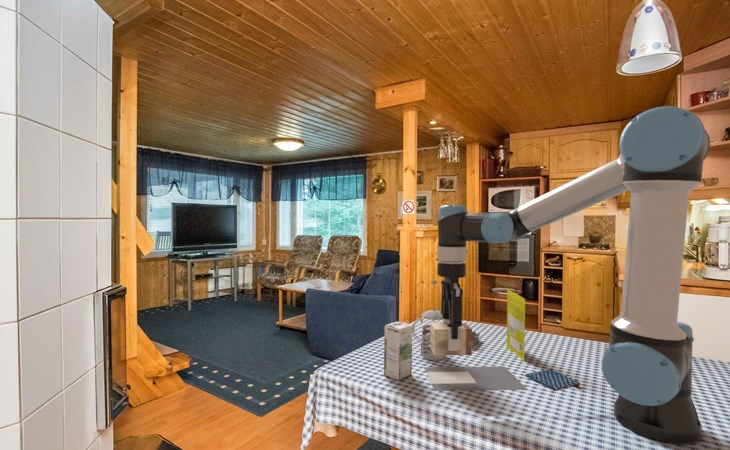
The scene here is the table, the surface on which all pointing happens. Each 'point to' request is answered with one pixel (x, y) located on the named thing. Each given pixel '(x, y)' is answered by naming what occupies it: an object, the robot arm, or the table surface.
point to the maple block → (441, 339)
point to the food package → (516, 323)
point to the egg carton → (475, 338)
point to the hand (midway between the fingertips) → (450, 346)
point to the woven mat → (552, 379)
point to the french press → (431, 315)
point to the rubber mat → (472, 378)
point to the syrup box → (398, 350)
